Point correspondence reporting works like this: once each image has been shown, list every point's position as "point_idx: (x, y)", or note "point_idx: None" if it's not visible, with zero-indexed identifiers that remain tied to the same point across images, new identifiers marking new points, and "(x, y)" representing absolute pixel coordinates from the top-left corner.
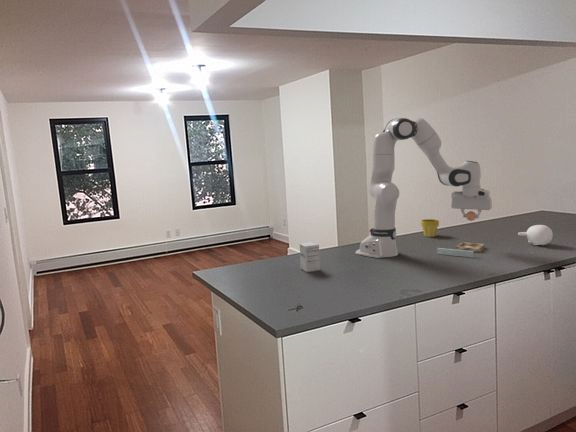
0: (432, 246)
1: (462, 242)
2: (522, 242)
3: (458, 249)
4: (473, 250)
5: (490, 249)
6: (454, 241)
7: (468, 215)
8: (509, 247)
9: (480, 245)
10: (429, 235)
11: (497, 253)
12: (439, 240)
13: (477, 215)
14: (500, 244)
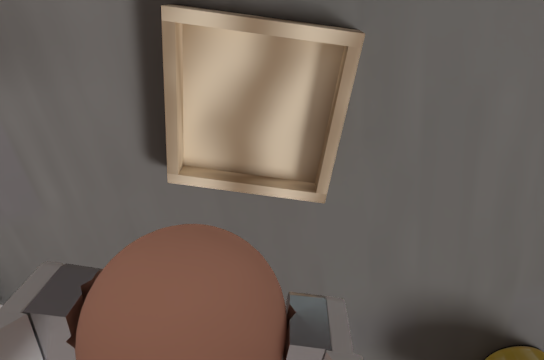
0: (539, 120)
1: (322, 194)
2: None
3: (337, 28)
4: (213, 10)
5: (133, 139)
6: (376, 283)
7: (213, 274)
8: (57, 217)
9: (198, 172)
10: (524, 352)
11: (47, 26)
12: (466, 288)
13: (26, 297)
14: None
